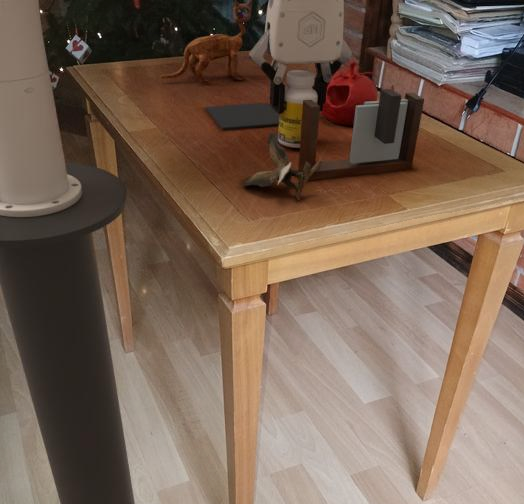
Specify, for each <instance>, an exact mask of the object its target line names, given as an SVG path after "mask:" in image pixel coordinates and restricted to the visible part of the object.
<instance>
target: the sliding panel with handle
mask: <svg viewBox="0 0 524 504" xmlns="http://www.w3.org/2000/svg"><path fill="white" fill-rule="evenodd" d="M401 99H402V94H400V93H398V92H396V91H395V90H393V89H392V88H385V89H384V88H383V89H382V88H381V89H380V93H379V100H378V101H379V104H371V105H357V106H356V110H355V118H354V125H353V127H352V136H351V144H350V152H349V159H350V161H349V162H350V163H351V164H353V163H363V162H373V161H383V160H393V159H398V158H399V152H400V146H401V140H402V134H403V128H404V122H405V116H406V110H407V104H408V103H406V102H401Z"/></svg>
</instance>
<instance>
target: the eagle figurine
mask: <svg viewBox="0 0 524 504" xmlns="http://www.w3.org/2000/svg"><path fill="white" fill-rule="evenodd" d="M267 139H268V140H267V144H268V148H269V156H270V158H271V160H272V161H273V163H274V164H275V166H276V168H275V169H274V170H263V171H259V172H257V173H255V174H254V175H252V176H251V177H250V178H248V179H246V180H244V182H243V186H244V187H250V186H259V187H261V188H263V187H269V186H271V185H272V184H273V183H275V181H278V182H277V184H276V186H279V185H280V184H281V183H283V184H284V185H285V186H287V187H289V189H292V190H294V191H295V193H294V194H295V196H296V199H297V201H300V199H301V194H302V192H303V189H304V188H305V186H306V185H307V182H308V181H309V180H308V179H309V178H310V176H311V175H312V174H313V173H314V172H315V171H316V169H317V168H318V167H319V166H320V164H321V162H323V158H320V159H319V160H318V161H317V162H318V163H317V164H315V165H314V167H313V168H312V169H311V166H310V164H309V163H308V162H307V161H306V163H305V166H304V169H303V173H302V172H300V173H299V172H298V170H294V169H293V168H291V167H292V161H290V162H289V157H288V154H287V152H286V150H285V148H284V147H282V146H281V145H280V143H279V141H278V133H277V132H275V131H271V132H270V133H269V134H268V137H267ZM288 162H289V163H288ZM292 177H294V178H295V177H296V178H297V184H295V183H294V182H293V181H291V180H292ZM307 180H308V181H307Z"/></svg>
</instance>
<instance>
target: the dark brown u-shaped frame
mask: <svg viewBox="0 0 524 504" xmlns="http://www.w3.org/2000/svg"><path fill="white" fill-rule="evenodd" d="M401 102H406V103H408V104H407V110H406V116H405V122H404V128H403V134H402V140H401V146H400V152H399V158H398V159H393V160H383V161H373V162H363V163H353V164H351V163H350V162H349V161H350V158H346V159H337V160H325V161H322V162H321V164H320V166H319V167H318V168H317V169H316V171H315V172H314V173H313V174H312V175H311V176H310V178H309V179H308V180H307V182H308V181H317V180H326V179H335V178H344V177H353V176H364V175H372V174H383V173H390V172H400V171H409V170H412V169H413V165H414V164H413V163H414V158H415V152H416V147H417V141H418V135H419V130H420V125H421V120H422V114H423V109H424V103H425V98H424V97H421V96H420V95H418V94H416V93H415V92H405V95H404V98H401ZM371 104H379V100H377V101H370V102H364V105H371ZM320 114H321V112H320V106H319V105H317V104H316V103H315V102H314V101H312V100H303V108H302V123H301V138H300V148H299V155H298V168H297V172H299V173H300V172H302V173H303V169H304V166H305V163H306V161H307V162H308V163H309V164H310V166H311V169H312V168H313V167H314V165H315V164H317V163H318V162H319V161H317V160H316V159H317V147H318V137H319V125H320ZM316 161H317V162H316Z"/></svg>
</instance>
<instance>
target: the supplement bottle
mask: <svg viewBox="0 0 524 504" xmlns="http://www.w3.org/2000/svg"><path fill="white" fill-rule="evenodd" d="M315 77H316V74H315V73H313V72H311V71H309V70H302V69H301V70H300V69H297V70H296V69H293V70H289V71H287V72H286V80H285V85H287V86H285V98H284V112H283V113H282V114H279V126H278V127H277V128H278V129H277V130H278V131H277V138H278V142H279V144H281V145H283V146H285V147H288V148H293V149H300V138H301V123H302V108H303V100H312V101H314V102H315V103H316V104H317V101H318V95H317V92H316V91H315V90H314V89H312V86H314V80H315Z"/></svg>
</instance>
